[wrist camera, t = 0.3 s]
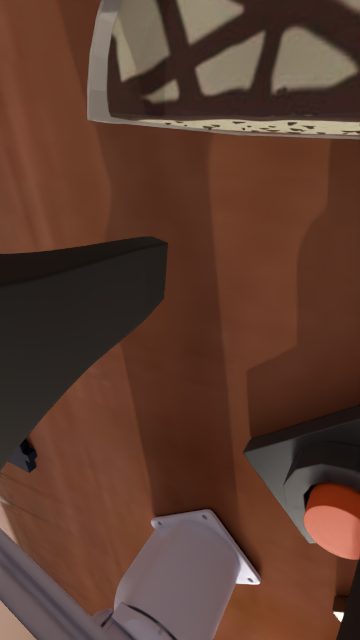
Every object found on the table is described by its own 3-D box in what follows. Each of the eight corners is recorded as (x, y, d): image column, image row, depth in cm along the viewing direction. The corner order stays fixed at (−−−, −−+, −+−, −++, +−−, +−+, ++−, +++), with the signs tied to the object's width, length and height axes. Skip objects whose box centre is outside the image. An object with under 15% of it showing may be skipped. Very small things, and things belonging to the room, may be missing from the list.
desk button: (333, 534, 21) (327, 560, 20) (298, 486, 21) (290, 509, 20) (393, 530, 19) (391, 559, 17) (353, 476, 19) (349, 501, 17)
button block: (313, 526, 26) (301, 569, 23) (249, 439, 26) (230, 472, 23) (489, 510, 19) (502, 571, 16) (401, 391, 19) (399, 431, 16)
